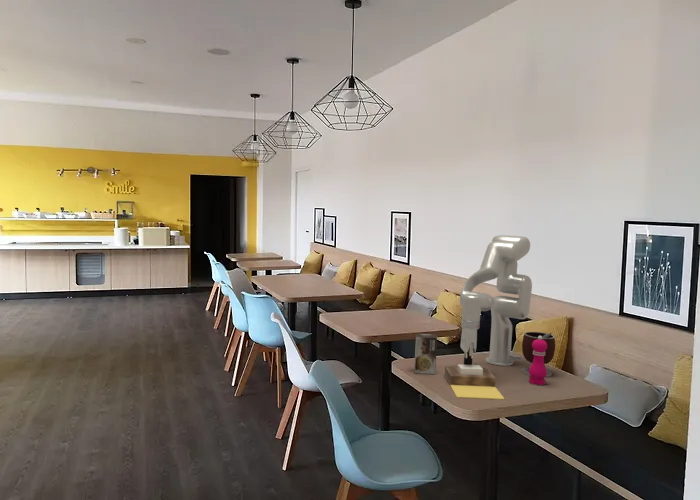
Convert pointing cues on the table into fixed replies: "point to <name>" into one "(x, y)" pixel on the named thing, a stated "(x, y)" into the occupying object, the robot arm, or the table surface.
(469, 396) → the mustard mat
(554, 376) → the table surface
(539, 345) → the pepper mill
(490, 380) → the walnut board
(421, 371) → the coffee box
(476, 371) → the white rectangular block
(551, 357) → the mate gourd
